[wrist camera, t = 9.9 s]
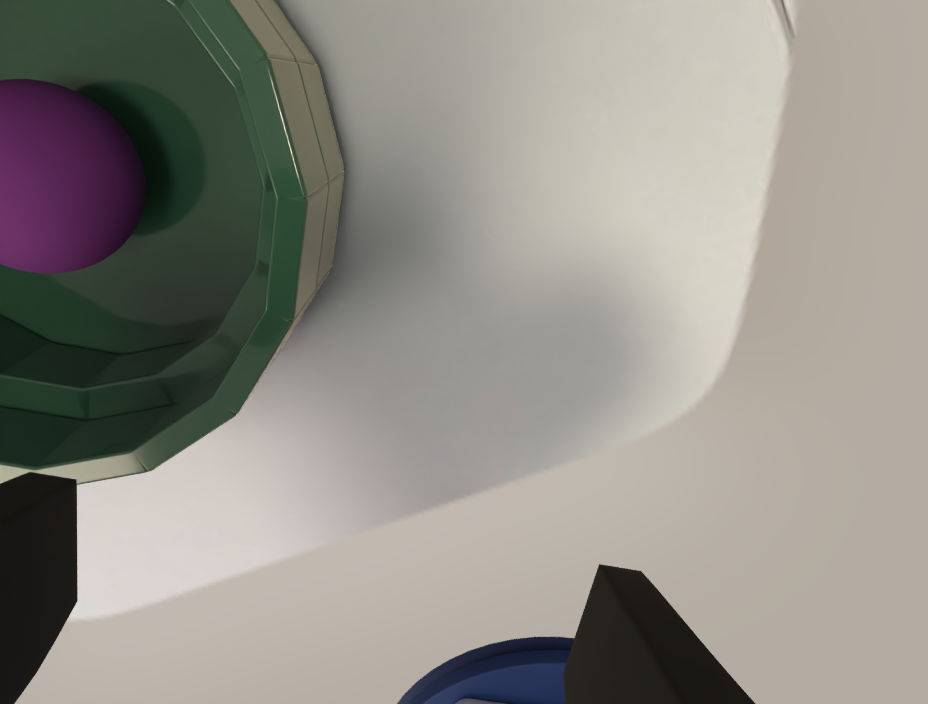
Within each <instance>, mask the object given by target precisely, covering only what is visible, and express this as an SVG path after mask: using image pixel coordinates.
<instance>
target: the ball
mask: <svg viewBox="0 0 928 704" xmlns="http://www.w3.org/2000/svg"><path fill="white" fill-rule="evenodd" d="M145 195H146V180H145V174H144V169H143V165H142V162H141V159H140V156H139V154H138V151H137V149H136V147H135V145H134V144H133V142H132V140H131V138H130V137H129V135H128V134H127V133H126V131H125V130H124V128H123V127H122V126H121V125H120V124H119V123H118V122H117V120H116V119H115V118H114V117H113V116H111V115H110V114H109V113H108V112H107V111H106V110H105V109H103V108H102V107H101V106H100V105H98V104H97V103H95V102H94V101H93V100H91V99H89V98H88V97H86V96H84V95H82V94H80V93H78V92H76V91H74V90H71V89H69V88H66V87H64V86H61V85H58V84H54V83H50V82H46V81H39V80H32V79H8V80H1V81H0V264H2V265H4V266H7V267H10V268H13V269H17V270H21V271H26V272H34V273H43V274H51V273H64V272H71V271H76V270H80V269H83V268H86V267H89V266H92V265H94V264H96V263H99V262H101V261H102V260H104V259H106V258H107V257H109V256H110V255H112V254H113V253H115V252H116V251H117V250H118V249H119V248H120V247H121V246H123V244H124V243H125V242H126V241H127V240H128V239H129V237H130V236H131V235H132V233H133V232H134V230H135V228H136V227H137V225H138V223H139V220H140V218H141V215H142V212H143V208H144V203H145Z"/></svg>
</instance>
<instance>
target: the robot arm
mask: <svg viewBox="0 0 928 704" xmlns="http://www.w3.org/2000/svg"><path fill="white" fill-rule="evenodd" d="M76 602H77V479H70V478H64V477H58V476H52V475H46V474H40V473H34V472H28V473H26V474H23V475H20V476H18V477H15V478H13V479H10V480H8V481H5V482H3V483H1V484H0V704H14V703H15V702H16V700H17V699H18V698H19V696H20V695H21V694H22V692H23V691H24V690H25V688H26V687H27V685H28V684H29V683H30V681H31V680H32V678H33V677H34V676H35V674H36V673H37V671H38V669H39V668H40V666H41V664H42V662H43V661H44V659H45V657H46V656H47V654H48V652H49V650H50V649H51V647H52V646H53V644H54V642H55V640H56V639H57V637H58V635H59V633H60V631H61V630H62V628H63V626H64V624H65V622H66V621H67V619H68V617H69V615H70V613H71V611H72V610H73V608H74V606H75V604H76ZM563 681H564V696H565V704H755V703H754V702H753V701H752V699H751V698H750V697H749V696H748V695H747V694H746V693H745V692H744V690H743V689H742V688H741V687H740V686H739V685H738V684H737V683H736V681H734V679H733V678H732V677H731V676H730V675H729V674H728V673H727V671H726V670H725V669H724V668H723V667H722V665H721V664H720V663H719V662H718V661H717V660H716V658H715V657H714V656H713V655H712V654H711V653H710V651H709V650H708V649H707V648H706V647H705V645H704V644H703V643H702V642H701V641H700V640H699V638H698V637H697V636H696V635H695V634H694V632H693V631H692V630H691V629H690V628H689V627H688V625H687V624H686V623H685V622H684V621H683V619H682V618H681V617H680V616H679V615H678V613H677V612H676V611H675V610H674V609H673V607H672V606H671V605H670V604H669V603H668V601H667V600H666V599H665V598H664V597H663V596H662V594H661V593H660V592H659V591H658V590H657V589H656V587H655V586H654V585H653V584H652V583H651V582H650V581H649V579H647V578H646V576H645V575H644V574H643V573H642V572H641V571H636V570H631V569H625V568H618V567H612V566H606V565H599V567H598V570H597V573H596V576H595V579H594V582H593V585H592V588H591V591H590V594H589V597H588V600H587V603H586V606H585V609H584V612H583V615H582V618H581V621H580V624H579V627H578V630H577V633H576V636H575V639H574V642H573V645H572V648H571V651H570V654H569V657H568V660H567V663H566V666H565V669H564V672H563ZM455 704H506V703H499V702H492V701H485V700H478V699H471V698H464V699H461V700H459V701H457V702H456V703H455Z"/></svg>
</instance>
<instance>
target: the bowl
mask: <svg viewBox="0 0 928 704" xmlns="http://www.w3.org/2000/svg"><path fill="white" fill-rule="evenodd" d="M315 64H316V61H315V59H314V58H313V56H312V55H311V53H310V52H309V50H308V49H307V47H306V46H305V45H304V43H303V42H302V40H301V39H300V37H299V36H298V34H297V33H296V31H295V30H294V29H293V27H292V26H291V24H290V23H289V21H288V20H287V18H286V17H285V15H284V14H283V12H282V11H281V10H280V8H279V7H278V5H277V4H276V2H275V1H274V0H0V81H1V80H8V79H32V80H39V81H46V82H50V83H54V84H58V85H61V86H64V87H66V88H69V89H71V90H74V91H76V92H78V93H80V94H82V95H84V96H86V97H88V98H89V99H91V100H93V101H94V102H95V103H97V104H98V105H100V106H101V107H102V108H103V109H105V110H106V111H107V112H108V113H109V114H110V115H111V116H113V117H114V118H115V119H116V120H117V122H118V123H119V124H120V125H121V126H122V127H123V128H124V130H125V131H126V133H127V134H128V135H129V137H130V138H131V140H132V142H133V144H134V145H135V147H136V149H137V151H138V154H139V156H140V159H141V162H142V165H143V169H144V174H145V180H146V195H145V203H144V208H143V212H142V215H141V218H140V220H139V223H138V225H137V227H136V228H135V230H134V232H133V233H132V235H131V236H130V237H129V239H128V240H127V241H126V242H125V243H124V244H123V246H121V247H120V248H119V249H118V250H117V251H116V252H115V253H113V254H112V255H110V256H109V257H107V258H106V259H104V260H102V261H101V262H99V263H96V264H94V265H92V266H89V267H86V268H83V269H80V270H76V271H71V272H64V273H51V274H43V273H34V272H26V271H21V270H17V269H13V268H10V267H7V266H4V265H2V264H0V484H1V483H3V482H5V481H8V480H10V479H13V478H15V477H18V476H20V475H23V474H26V473H28V472H34V473H40V474H46V475H52V476H58V477H64V478H70V479H77V485H78V484H84V483H90V482H95V481H101V480H106V479H112V478H117V477H123V476H128V475H134V474H140V473H145V472H148V471H152V470H153V469H155V468H156V467H158V466H160V465H161V464H163V463H164V462H166V461H167V460H169V459H170V458H172V457H173V456H175V455H176V454H178V453H179V452H181V451H183V450H184V449H186V448H187V447H189V446H190V445H192V444H193V443H195V442H196V441H198V440H199V439H201V438H202V437H204V436H206V435H207V434H209V433H210V432H212V431H213V430H215V429H216V428H218V427H219V426H221V425H222V424H224V423H226V422H227V421H229V420H230V419H232V418H233V417H235V416H236V414H237V413H239V411H240V410H241V408H242V407H243V405H244V404H245V403H246V401H247V400H248V398H249V397H250V395H251V394H252V392H253V391H254V389H255V388H256V386H257V385H258V383H259V382H260V380H261V379H262V377H263V376H264V374H265V373H266V371H267V370H268V368H269V367H270V365H271V364H272V363H273V361H274V360H275V358H276V357H277V355H278V354H279V352H280V351H281V349H282V348H283V346H284V345H285V343H286V342H287V340H288V339H289V337H290V335H291V334H292V332H293V331H294V329H295V327H296V326H297V324H298V322H299V321H300V319H301V318H302V316H303V314H304V313H305V311H306V309H307V308H308V306H309V305H310V303H311V301H312V300H313V298H314V296H315V295H316V293H317V292H318V290H319V288H320V287H321V285H322V283H323V282H324V280H325V279H326V277H327V275H328V274H329V272H330V270H331V266H332V264H333V257H334V250H335V242H336V235H337V227H338V220H339V212H340V205H341V197H342V190H343V183H344V172H343V171H344V165H343V161H342V157H341V153H340V149H339V145H338V141H337V137H336V133H335V129H334V125H333V121H332V117H331V114H330V110H329V106H328V102H327V98H326V94H325V90H324V86H323V82H322V78H321V74H320V70H319V67H318V65H315Z"/></svg>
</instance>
